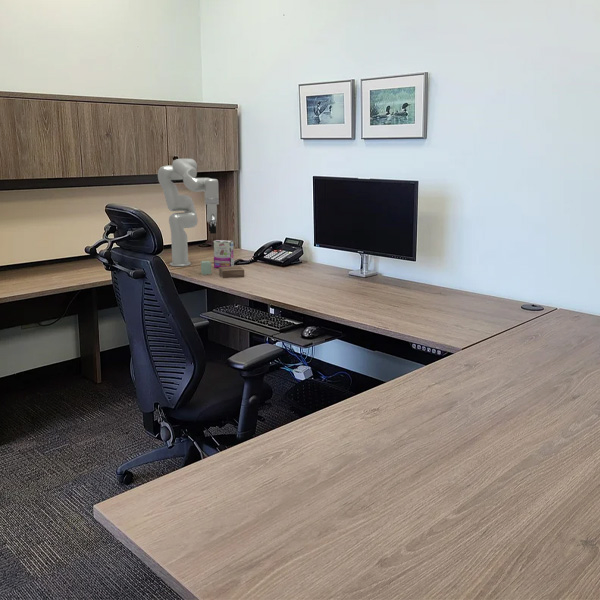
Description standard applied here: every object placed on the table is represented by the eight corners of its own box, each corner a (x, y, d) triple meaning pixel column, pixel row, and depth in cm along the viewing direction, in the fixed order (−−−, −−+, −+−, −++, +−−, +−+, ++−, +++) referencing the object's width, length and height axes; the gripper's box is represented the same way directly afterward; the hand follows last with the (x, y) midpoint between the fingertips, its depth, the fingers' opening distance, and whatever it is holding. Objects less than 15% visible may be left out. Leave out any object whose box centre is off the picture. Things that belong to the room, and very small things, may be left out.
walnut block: (219, 273, 356) (218, 266, 355) (239, 272, 359) (239, 265, 358) (222, 278, 345) (222, 270, 344) (244, 276, 348) (244, 269, 347)
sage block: (201, 273, 357) (200, 261, 356) (209, 272, 359) (209, 260, 357) (202, 274, 353) (202, 262, 351) (211, 274, 354) (211, 262, 352)
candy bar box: (234, 267, 374) (233, 240, 370) (231, 269, 369) (230, 241, 366) (217, 266, 377) (216, 239, 373) (213, 268, 373) (213, 240, 369)
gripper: (204, 200, 354) (204, 230, 358) (206, 203, 337) (206, 234, 341) (217, 200, 355) (217, 230, 359) (220, 202, 339) (220, 234, 343)
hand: (212, 232), depth 350 cm, fingers open, 9 cm apart
